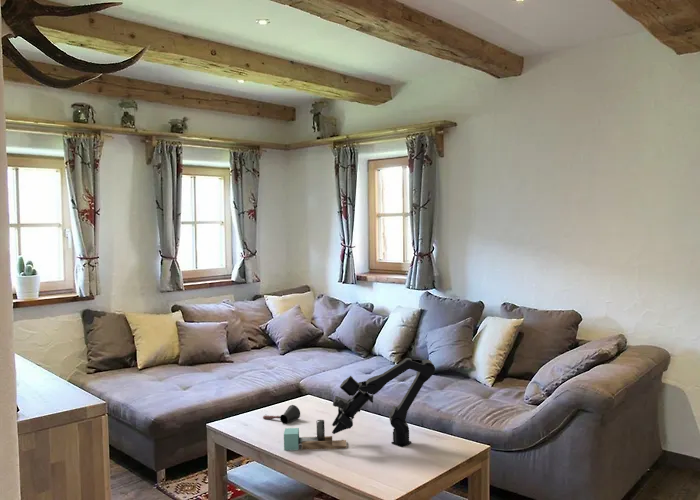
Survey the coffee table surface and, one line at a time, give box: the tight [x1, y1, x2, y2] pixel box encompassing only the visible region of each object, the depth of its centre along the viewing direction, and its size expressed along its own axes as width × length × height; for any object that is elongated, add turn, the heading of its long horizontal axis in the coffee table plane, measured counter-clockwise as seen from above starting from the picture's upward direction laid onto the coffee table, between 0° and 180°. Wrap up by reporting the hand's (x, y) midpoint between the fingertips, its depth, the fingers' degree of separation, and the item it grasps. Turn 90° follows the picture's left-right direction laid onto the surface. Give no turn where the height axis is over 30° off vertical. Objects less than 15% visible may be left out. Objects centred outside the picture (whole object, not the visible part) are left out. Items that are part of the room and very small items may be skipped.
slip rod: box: [298, 419, 326, 445], centre depth 249 cm, size 15×3×10 cm, turn 91°
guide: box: [301, 435, 347, 451], centre depth 250 cm, size 19×7×3 cm, turn 91°
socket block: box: [283, 427, 300, 451], centre depth 249 cm, size 6×7×7 cm
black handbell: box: [262, 404, 301, 425], centre depth 285 cm, size 8×18×8 cm
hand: (332, 429), depth 249 cm, fingers open, 9 cm apart
